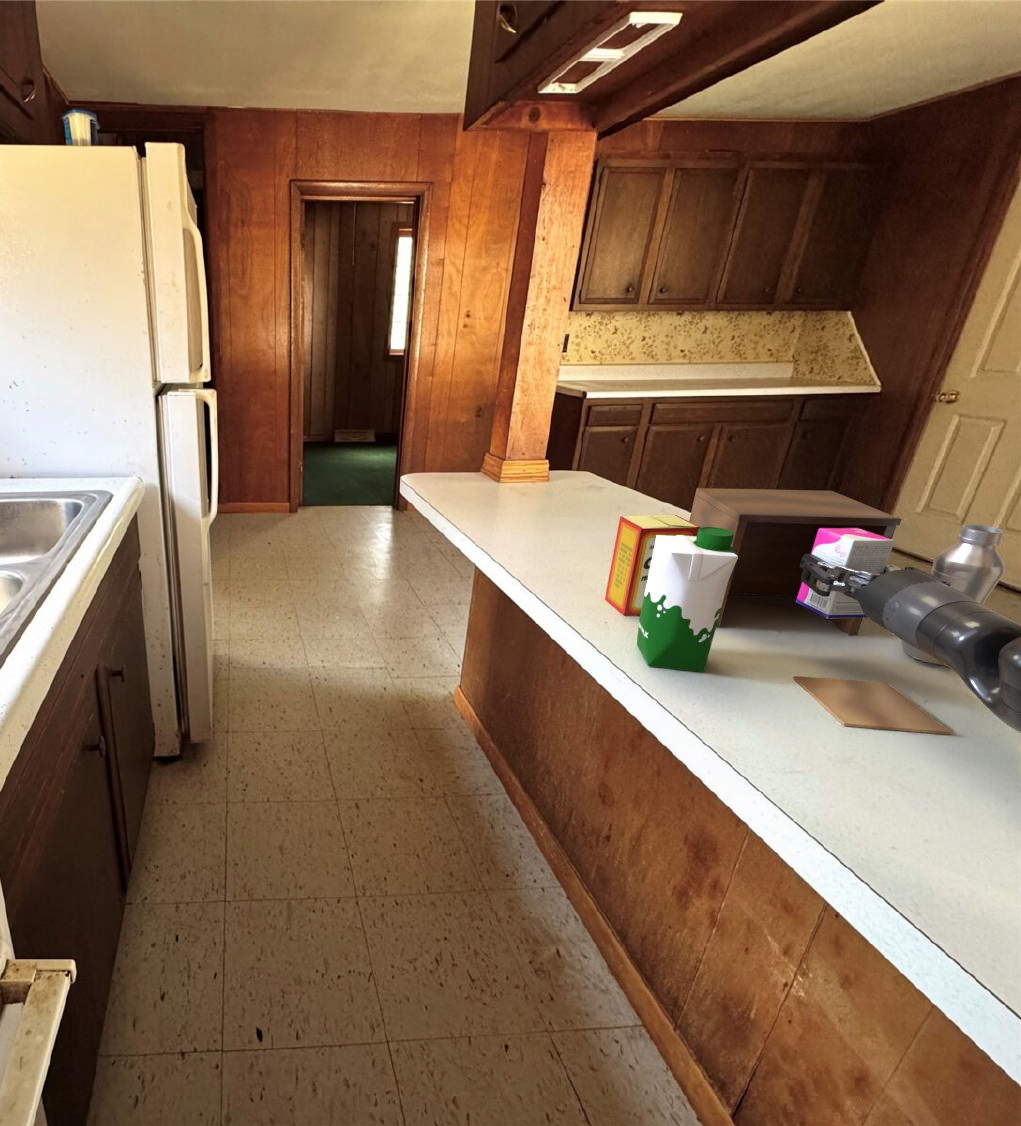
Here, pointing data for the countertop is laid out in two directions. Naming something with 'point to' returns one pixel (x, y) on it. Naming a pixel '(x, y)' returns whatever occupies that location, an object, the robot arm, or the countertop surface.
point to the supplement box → (851, 551)
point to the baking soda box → (638, 557)
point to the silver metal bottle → (968, 569)
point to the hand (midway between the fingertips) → (834, 561)
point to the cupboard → (781, 535)
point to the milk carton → (684, 598)
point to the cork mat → (869, 705)
